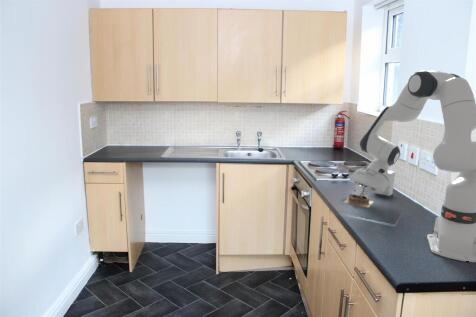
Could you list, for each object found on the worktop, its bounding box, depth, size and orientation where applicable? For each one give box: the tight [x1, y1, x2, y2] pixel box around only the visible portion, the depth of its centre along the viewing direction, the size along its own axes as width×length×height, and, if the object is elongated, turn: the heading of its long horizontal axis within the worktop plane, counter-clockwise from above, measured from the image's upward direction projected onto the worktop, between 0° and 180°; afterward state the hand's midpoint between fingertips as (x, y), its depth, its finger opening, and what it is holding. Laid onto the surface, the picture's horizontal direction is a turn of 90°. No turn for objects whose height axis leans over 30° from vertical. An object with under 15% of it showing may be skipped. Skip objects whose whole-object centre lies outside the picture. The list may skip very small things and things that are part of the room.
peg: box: [354, 185, 366, 199], centre depth 184 cm, size 4×4×8 cm
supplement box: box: [374, 169, 396, 197], centre depth 201 cm, size 7×7×13 cm
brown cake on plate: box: [342, 193, 374, 208], centre depth 184 cm, size 12×12×4 cm
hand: (358, 193), depth 183 cm, fingers closed on peg, 4 cm apart
